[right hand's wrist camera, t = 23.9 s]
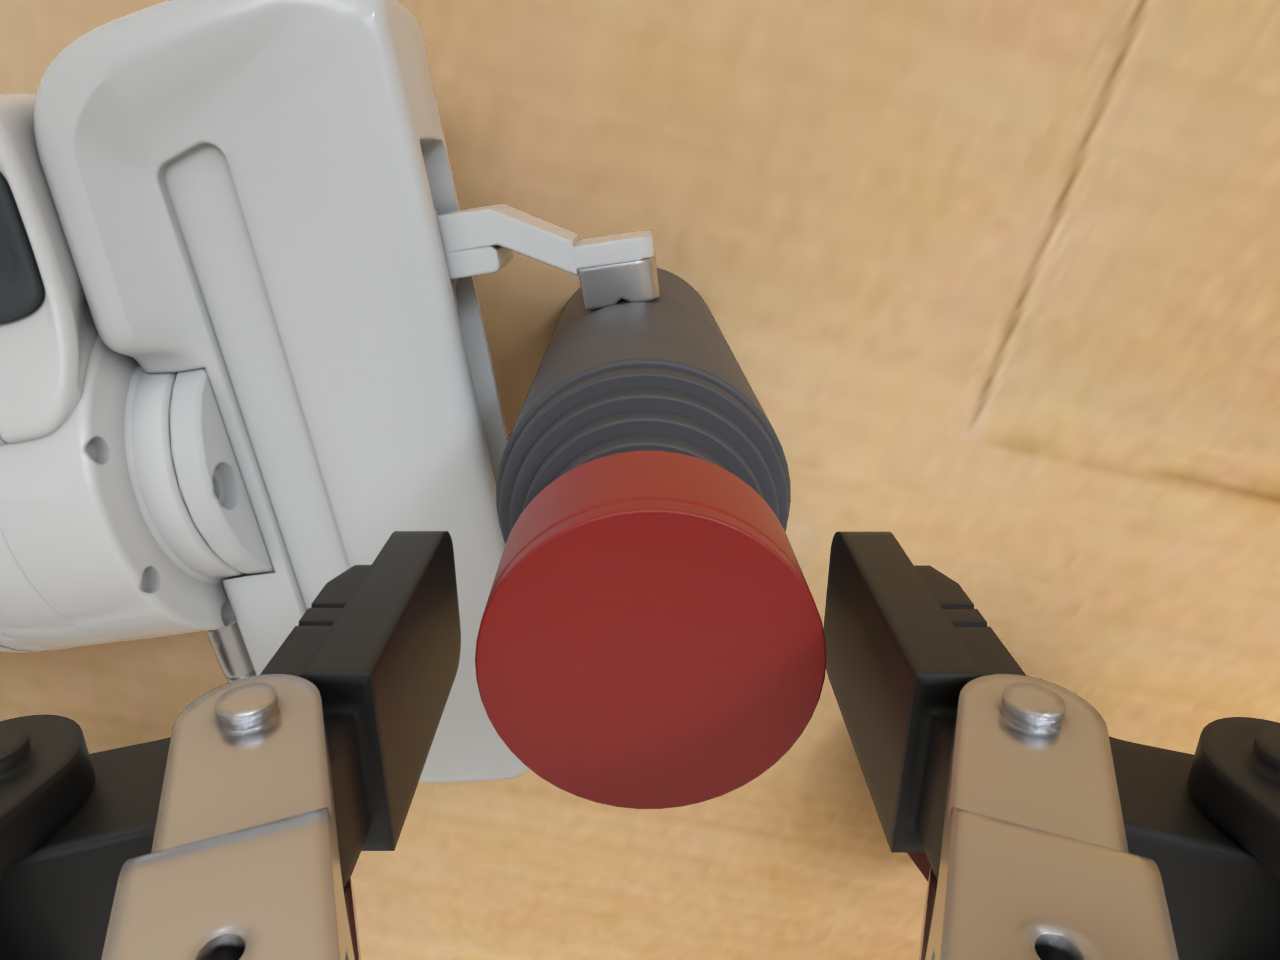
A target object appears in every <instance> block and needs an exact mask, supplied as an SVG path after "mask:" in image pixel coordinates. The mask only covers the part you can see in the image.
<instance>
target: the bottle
mask: <svg viewBox="0 0 1280 960" xmlns="http://www.w3.org/2000/svg"><path fill="white" fill-rule="evenodd" d="M657 277H658V285H659V294H660V296H659V298H656V299H654V300H650V301H645V302H631V303H630V302H628V301H626V300H624V299H622V298H621V299H620V300H619V301H618V302H617V303H616V304H615V305H612V306H608V307H605V308H597V309H590V310H585V305H584V300H583V294H582V289H581V288H580V289H578V290H577V291H576V293H575V294H574V295H573V296H572V298H571V299H570V300H569V302H568V303H567V305H566V307H565V308H564V310H563V312H562V315H561V317H560V319H559V322H558V324H557V326H556V329H555V331H554V334H553V336H552V338H551V341H550V343H549V345H548V348H547V350H546V352H545V355H544V357H543V360H542V362H541V364H540V367H539V369H538V371H537V374H536V376H535V378H534V381H533V383H532V386H531V388H530V390H529V393H528V395H527V397H526V400H525V402H524V404H523V407H522V409H521V412H520V414H519V416H518V419H517V421H516V423H515V426H514V428H513V430H512V433H511V435H510V438H509V440H508V442H507V445H506V447H505V449H504V452H503V455H502V459H501V462H500V466H499V469H498V477H497V484H496V507H497V514H498V520H499V525H500V528H501V532H502V536H503V539H504V542H505V545H506V542H507V540H508V537H509V535H510V532H511V530H512V528H513V527H514V525H515V523H516V521H517V520H518V518H519V516H520V515H521V513H522V512H523V511H524V510H525V508H526V507H527V506H528V504H529V503H530V502H531V501H532V500H533V499H534V498H535V497H536V496H537V495H538V494H539V493H540V492H541V491H542V490H543V489H544V488H545V487H546V486H548V485H549V484H550V483H552V482H553V481H554V480H556V479H557V478H559V477H560V476H561V475H563V474H565V473H567V472H568V471H570V470H572V469H574V468H576V467H578V466H580V465H582V464H585V463H587V462H590V461H592V460H595V459H597V458H601V457H605V456H609V455H613V454H617V453H624V452H632V451H666V452H674V453H681V454H685V455H689V456H692V457H696V458H700V459H703V460H705V461H708V462H710V463H713V464H715V465H718V466H720V467H721V468H723V469H725V470H727V471H729V472H730V473H732V474H734V475H736V476H737V477H738V478H740V479H741V480H742V481H744V482H745V483H746V484H748V485H749V486H750V487H752V488H753V489H754V490H755V491H756V492H757V493H758V494H759V495H760V496H761V497H762V498H763V499H764V500H765V501H766V503H767V504H768V505H769V507H770V508H771V509H772V511H773V512H774V513H775V515H776V516H777V518H778V520H779V522H780V523H781V525H782V527H783V529H784V531H786V527H787V521H788V516H789V508H790V478H789V472H788V465H787V462H786V459H785V455H784V452H783V449H782V446H781V444H780V442H779V440H778V438H777V436H776V434H775V431H774V429H773V428H772V426H771V424H770V422H769V420H768V418H767V416H766V415H765V413H764V411H763V409H762V407H761V405H760V403H759V401H758V400H757V398H756V396H755V394H754V392H753V390H752V388H751V387H750V385H749V383H748V381H747V379H746V377H745V375H744V373H743V372H742V370H741V368H740V366H739V364H738V362H737V360H736V359H735V357H734V355H733V353H732V351H731V349H730V347H729V345H728V344H727V342H726V340H725V338H724V336H723V334H722V332H721V331H720V329H719V327H718V325H717V323H716V321H715V319H714V317H713V316H712V314H711V312H710V310H709V308H708V306H707V305H706V303H705V302H704V300H703V299H702V297H701V296H700V295H699V294H698V293H697V292H696V290H695V289H694V288H692V287H691V286H690V285H689V284H688V283H687V282H685V281H684V280H682V279H681V278H679V277H678V276H676V275H674V274H672V273H670V272H668V271H665V270H662V269H659V268H657Z"/></svg>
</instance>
